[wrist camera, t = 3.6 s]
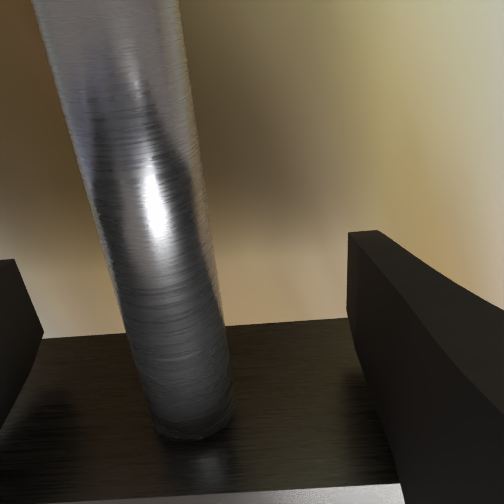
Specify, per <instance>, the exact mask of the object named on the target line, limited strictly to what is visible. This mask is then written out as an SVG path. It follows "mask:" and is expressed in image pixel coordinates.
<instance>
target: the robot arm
mask: <svg viewBox="0 0 504 504" xmlns="http://www.w3.org/2000/svg"><path fill="white" fill-rule="evenodd" d="M346 310H347V315H348V320H349V324H350V329H351V334H352V338H353V342H354V347H355V351H356V353H357V356H358V359H359V362H360V365H361V368H362V370H363V373H364V376H365V379H366V382H367V384H368V387H369V390H370V393H371V395H372V398H373V401H374V404H375V407H376V409H377V412H378V415H379V418H380V420H381V423H382V426H383V429H384V431H385V434H386V437H387V440H388V443H389V446H390V449H391V452H392V456H393V459H394V462H395V466H396V470H397V474H398V478H399V482H400V486H401V490H402V494H403V497H404V501H405V504H504V310H502V309H500V308H498V307H497V306H495V305H493V304H491V303H489V302H487V301H485V300H484V299H482V298H480V297H479V296H477V295H475V294H473V293H472V292H470V291H468V290H467V289H465V288H463V287H461V286H460V285H458V284H456V283H455V282H453V281H452V280H450V279H448V278H447V277H445V276H444V275H442V274H441V273H439V272H438V271H436V270H435V269H433V268H432V267H430V266H429V265H427V264H426V263H424V262H423V261H421V260H420V259H418V258H417V257H416V256H414V255H413V254H411V253H410V252H408V251H407V250H406V249H404V248H403V247H401V246H400V245H399V244H397V243H396V242H394V241H393V240H392V239H390V238H389V237H387V236H386V235H384V234H383V233H381V232H380V231H378V230H372V231H359V232H348V263H347V307H346ZM43 334H44V331H43V328H42V326H41V323H40V321H39V318H38V316H37V313H36V311H35V309H34V306H33V304H32V301H31V299H30V296H29V294H28V291H27V289H26V287H25V284H24V282H23V279H22V277H21V274H20V272H19V269H18V267H17V265H16V262H15V260H14V259H7V260H0V430H1V428H2V426H3V424H4V422H5V420H6V419H7V417H8V415H9V413H10V411H11V409H12V407H13V405H14V403H15V401H16V399H17V398H18V396H19V394H20V392H21V390H22V388H23V386H24V384H25V382H26V380H27V378H28V376H29V374H30V372H31V369H32V366H33V364H34V361H35V358H36V355H37V352H38V349H39V346H40V343H41V340H42V337H43Z"/></svg>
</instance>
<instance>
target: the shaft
mask: <svg viewBox="0 0 504 504" xmlns="http://www.w3.org/2000/svg"><path fill="white" fill-rule="evenodd" d="M31 2H32V5H33V9H34V12H35V16H36V19H37V23H38V26H39V30H40V33H41V37H42V40H43V44H44V47H45V51H46V54H47V58H48V61H49V65H50V68H51V72H52V75H53V79H54V82H55V86H56V89H57V93H58V96H59V100H60V103H61V107H62V110H63V114H64V117H65V121H66V124H67V128H68V131H69V135H70V138H71V141H72V145H73V148H74V152H75V155H76V159H77V162H78V166H79V169H80V173H81V176H82V180H83V183H84V187H85V190H86V194H87V197H88V201H89V204H90V208H91V211H92V215H93V218H94V222H95V225H96V229H97V232H98V236H99V239H100V243H101V246H102V250H103V253H104V257H105V260H106V264H107V267H108V271H109V274H110V278H111V281H112V285H113V288H114V292H115V295H116V299H117V302H118V306H119V309H120V313H121V316H122V320H123V323H124V327H125V330H126V333H120V334H105V335H91V336H76V337H62V338H47V339H42V340H41V343H40V346H39V349H38V352H37V355H36V358H35V361H34V364H33V366H32V369H31V372H30V374H29V376H28V378H27V380H26V382H25V384H24V386H23V388H22V390H21V392H20V394H19V396H18V398H17V399H16V401H15V403H14V405H13V407H12V409H11V411H10V413H9V415H8V417H7V419H6V420H5V422H4V424H3V426H2V428H1V430H0V504H405V501H404V497H403V494H402V490H401V486H400V482H399V478H398V474H397V470H396V466H395V462H394V459H393V456H392V452H391V449H390V446H389V443H388V440H387V437H386V434H385V431H384V429H383V426H382V423H381V420H380V418H379V415H378V412H377V409H376V407H375V404H374V401H373V398H372V395H371V393H370V390H369V387H368V384H367V382H366V379H365V376H364V373H363V370H362V368H361V365H360V362H359V359H358V356H357V353H356V351H355V347H354V342H353V338H352V334H351V329H350V324H349V320H348V318H337V319H323V320H308V321H294V322H279V323H265V324H250V325H236V326H225V322H224V315H223V308H222V301H221V294H220V287H219V280H218V273H217V266H216V259H215V252H214V245H213V238H212V231H211V224H210V217H209V210H208V203H207V196H206V189H205V182H204V175H203V168H202V161H201V154H200V147H199V140H198V133H197V126H196V119H195V112H194V105H193V98H192V91H191V84H190V77H189V70H188V63H187V56H186V49H185V42H184V35H183V28H182V21H181V14H180V7H179V0H31Z"/></svg>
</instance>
